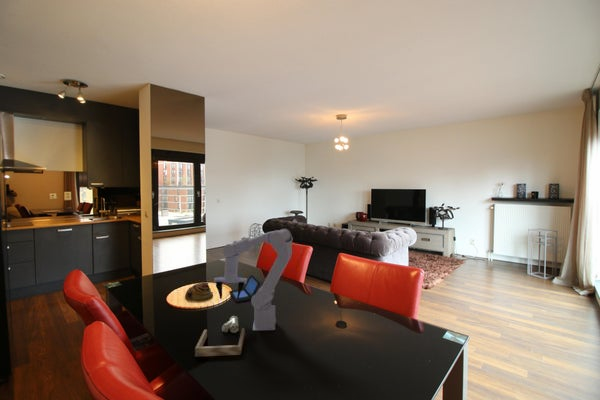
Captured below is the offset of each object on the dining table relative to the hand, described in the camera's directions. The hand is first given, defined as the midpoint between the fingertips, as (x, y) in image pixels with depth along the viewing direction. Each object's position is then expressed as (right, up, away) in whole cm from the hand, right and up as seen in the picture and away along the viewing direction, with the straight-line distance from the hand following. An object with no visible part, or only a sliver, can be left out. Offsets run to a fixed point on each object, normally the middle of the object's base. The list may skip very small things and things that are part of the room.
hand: (229, 298), depth 126 cm
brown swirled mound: (-23, -9, +26) cm, 36 cm away
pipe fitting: (+2, -11, -8) cm, 14 cm away
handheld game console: (+1, -9, +27) cm, 28 cm away
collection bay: (+2, -11, -20) cm, 23 cm away
